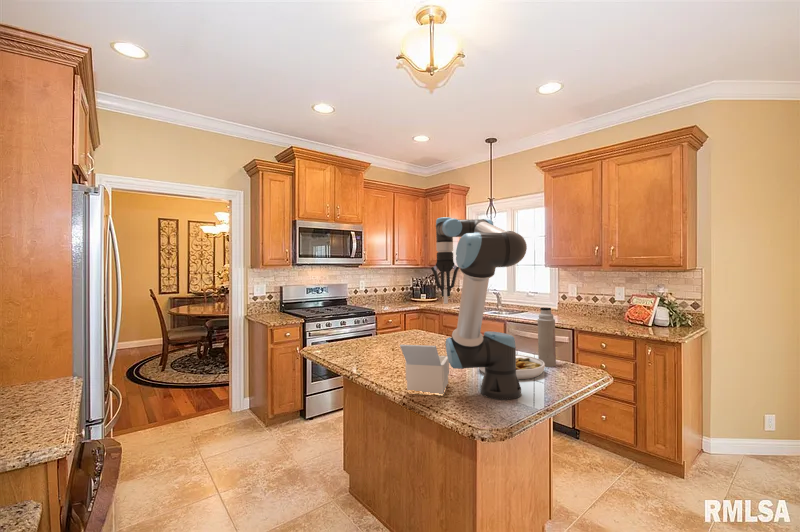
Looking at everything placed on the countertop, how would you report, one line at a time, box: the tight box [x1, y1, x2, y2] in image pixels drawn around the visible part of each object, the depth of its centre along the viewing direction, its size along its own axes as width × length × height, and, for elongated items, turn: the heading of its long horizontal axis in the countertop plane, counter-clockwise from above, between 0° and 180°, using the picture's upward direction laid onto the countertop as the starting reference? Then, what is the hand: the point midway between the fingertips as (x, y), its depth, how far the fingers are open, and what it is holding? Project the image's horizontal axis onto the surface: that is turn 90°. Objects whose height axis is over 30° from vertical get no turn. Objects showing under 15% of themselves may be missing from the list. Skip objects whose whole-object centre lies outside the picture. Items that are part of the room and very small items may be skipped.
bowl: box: [478, 354, 546, 380], centre depth 177 cm, size 30×30×8 cm
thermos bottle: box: [537, 307, 557, 368], centre depth 186 cm, size 8×8×28 cm
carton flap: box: [399, 344, 441, 366], centre depth 142 cm, size 13×13×1 cm
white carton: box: [404, 355, 450, 394], centre depth 154 cm, size 15×15×12 cm
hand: (446, 303), depth 174 cm, fingers closed
